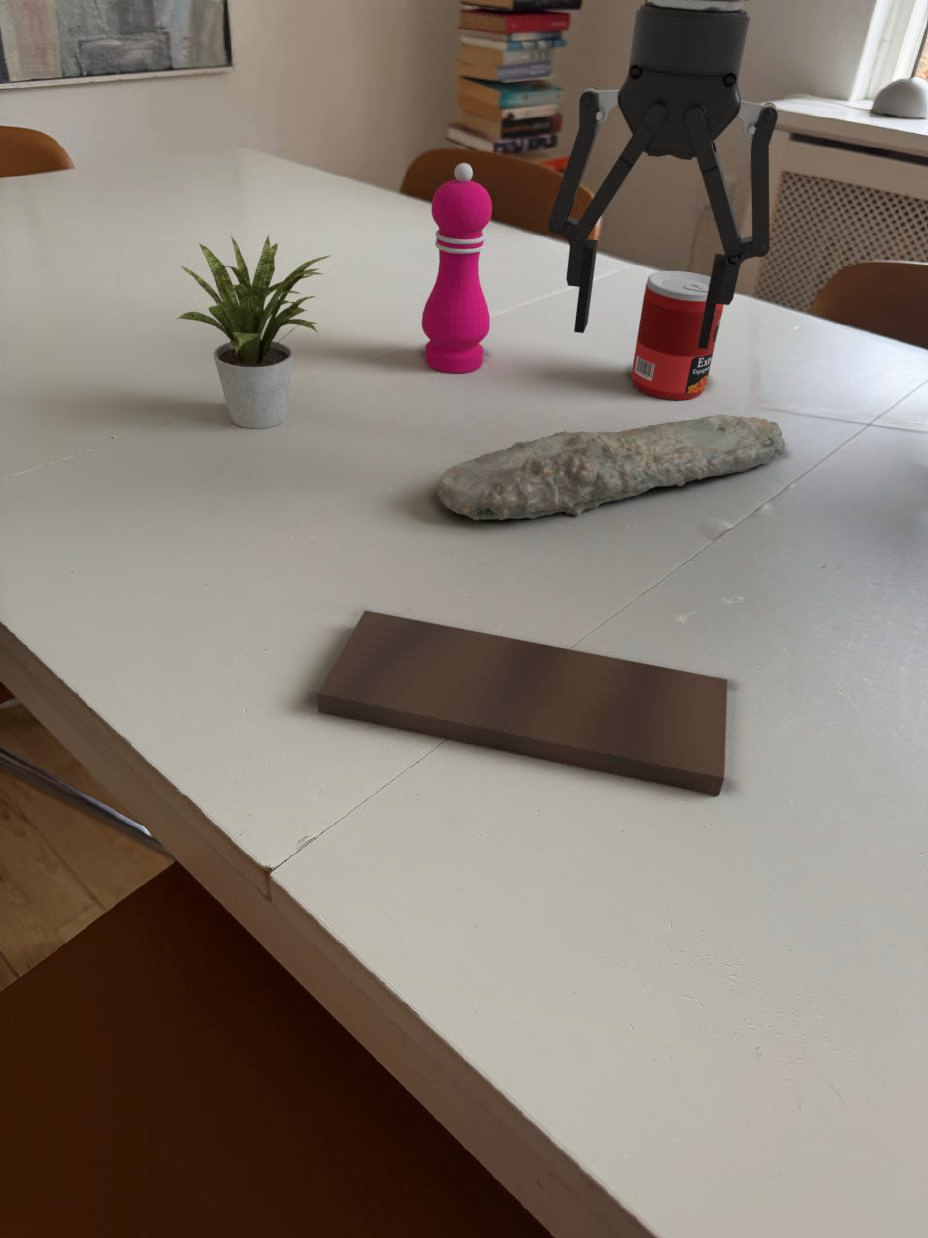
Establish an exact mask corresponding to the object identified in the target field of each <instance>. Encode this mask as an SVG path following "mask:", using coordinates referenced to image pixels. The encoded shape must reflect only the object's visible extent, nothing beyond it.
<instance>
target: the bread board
mask: <svg viewBox="0 0 928 1238" xmlns="http://www.w3.org/2000/svg"><path fill="white" fill-rule="evenodd" d="M316 696H317V698H316V699H317V712H318V713H320V714H321V713H322V714H326V715H331V716H336V717H339V718H344V719H349V720H355V721H359V722H365V723H368V724H374V725H377V726H384V727H388V728H393V729H398V730H402V731H406V732H411V733H416V734H422V735H427V736H431V737H435V738H441V739H444V740H450V741H454V742H460V743H464V744H469V745H472V746H473V745H474V746H478V747H483V748H487V749H492V750H497V751H502V752H507V753H512V754H515V755H521V756H526V757H531V758H535V759H540V760H545V761H550V762H555V763H559V764H564V765H569V766H574V767H579V768H581V769H582V768H583V769H588V770H592V771H597V772H603V773H606V774H611V775H617V776H621V777H625V778H631V779H635V780H639V781H640V780H641V781H643V782H650V783H655V784H659V785H664V786H669V787H673V788H677V789H683V790H688V791H691V792H697V793H702V794H706V795H711V796H717V797H719V796H720V794H721V791H722V788H723V784H724V781H725V777H726V776H725V775H726V772H725V771H726V744H727V742H726V740H727V715H728V714H727V711H728V709H727V707H728V679H727V678H723V677H716V676H711V675H706V674H702V673H695V672H690V671H685V670H680V669H674V668H670V667H666V666H665V667H664V666H660V665H654V664H649V663H643V662H639V661H638V662H637V661H633V660H628V659H623V658H618V657H612V656H607V655H602V654H595V653H591V652H586V651H581V650H575V649H569V648H565V647H559V646H554V645H549V644H544V643H538V642H534V641H528V640H523V639H517V638H512V637H508V636H502V635H498V634H491V633H487V632H481V631H476V630H471V629H465V628H460V627H455V626H449V625H446V624H445V625H444V624H441V623H440V624H439V623H435V622H428V621H423V620H419V619H413V618H409V617H402V616H397V615H393V614H387V613H381V612H378V611H377V612H376V611H372V610H371V611H370V610H367V609H366V610H365V609H364V611H363V612H362V614H361V616H360V617H359V620H358V621H357V623H356V625H355V627H354V628H353V630H352V632H351V634H350V635H349V637H348V639H347V641H346V643H345V644H344V646H343V647H342V650H341V651H340V653H339V655H338V656H337V658H336V660H335V662H334V663H333V665H332V667H331V669H330V671H329V672H328V674H327V676H326V677H325V680H324V681H323V683H322V685H321V687H320V688H319V690H318V692H317V694H316Z"/></svg>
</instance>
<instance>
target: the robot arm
mask: <svg viewBox="0 0 928 1238" xmlns="http://www.w3.org/2000/svg"><path fill="white" fill-rule="evenodd" d="M744 2H750V0H644V3H640V5H639V8H637V9H636V11H635V18H634V25H633V35H632V41H631V49H630V56H629V64H628V70H627V75H626V78H625V80H624V82H623V84H622V85H621V86H620V88H619V89H600V90H599V89H598V88H597V87H595V86H591V87H589V88H587V89H586V90H585V91H583V93H582V94H581V95H580V97H579V101H578V102H579V103H578V106H579V107H578V108H579V109H578V110H579V112H578V115H579V116H578V121H579V122H578V130H577V133H576V137H575V139H574V143H573V146H572V148H571V151H570V154H569V158H568V161H567V163H566V167H565V170H564V173H563V176H562V179H561V182H560V186H559V188H558V191H557V195H556V198H555V200H554V204H553V207H552V210H551V213H550V216H549V220H548V223H547V229H548V231H549V232H550V234H552V235H558V236H560V237H563V239H566V241H567V242H568V245H569V251H568V260H567V269H566V278H565V279H566V284H567V286H568V287H575V288H578V293H577V305H576V311H575V320H574V329H573V332H574V333H576V334H577V333H579V334H584V333H585V330H586V328H587V326H588V323H589V317H590V309H591V308H590V307H591V301H592V300H591V299H592V292H593V285H594V275H595V269H596V262H597V261H596V260H597V253H598V246H599V245H598V244H599V240H598V239H590V238H589V237H590V234H591V233H592V231H593V230H594V228H595V226H596V225H597V223H599V220H601V217H602V216H603V214H604V213H605V211H606V209H607V208H608V207H609V205H610V203H611V201H612V200H613V198H614V197H615V195H616V194H617V192H618V191H619V189H620V188H621V186H622V185H623V183H624V182H625V180H626V178H627V177H628V175H630V172H631V171H632V169H633V168H634V166H635V164H636V163H637V161H638V160H639V159H640V157H641V155H642V154H643V153H645V154H647V157H656V158H661V157H665V156H672V157H674V158H676V159H679V160H685V161H692V159H695V158H696V161H697V164H698V167H699V171H700V173H701V176H702V179H703V183H704V186H705V191H706V193H707V197H708V200H709V204H710V207H711V210H712V214H713V218H714V221H715V224H716V228H717V232H718V235H719V239H720V242H721V245H722V249H723V253H724V254H723V253H715V254H714V258H713V264H712V269H711V273H710V277H711V279H710V284H709V289H708V294H707V299H706V304H705V309H704V314H703V320H702V325H701V330H700V335H699V342H698V348H700V349H708V344H709V339H710V334H711V329H712V324H713V319H714V314H715V309H716V304H723V305H724V306H730V305H731V304H732V302H733V300H734V296H735V292H736V288H737V283H738V277H739V274H740V268H741V265H742V264H743V262H745V261H746V260H748V259H749V260H750V259H752V258H764V257H766V256H767V255H768V254H769V252H770V247H771V246H770V244H771V243H770V143H771V140H772V137H773V134H774V131H775V128H776V125H777V121H778V118H779V114H778V107H777V106H776V104H774V103H773V102H766V103H764V104H762V103H757V102H752V101H748V100H743V99H742V98H741V97H742V96H741V94H740V90H739V78H740V73H741V68H742V67H741V66H742V63H743V56H744V51H745V47H746V43H747V42H746V41H747V37H748V36H747V35H748V30H749V26H750V20H751V17H749V16H748V11H746V10H743V9H744ZM614 108H619V111H620V112H621V114H622V116H623V119H624V121H625V123H626V124H627V127H628V129H629V131H630V133H631V137H630V138H629V140H628V142H627V143H626V145H625V147H624V148H623V149H622V151H621V153H620V154H619V156H618V158H617V159H616V161H615V162H614V164H613V165H612V167H611V169H610V171H609V172H608V174H607V175H606V177H605V178H604V180H603V182H602V183H601V185H600V186H599V188H598V189H597V191H596V193H595V194H594V196H593V197H592V199H591V201H590V202H589V203H588V206H586V208H585V210H584V212H583V214H582V215H581V216H580V218H579V219H577V218H574V217H572V216H571V213H572V210H573V207H574V204H575V201H576V198H577V195H578V193H579V190H580V186H581V183H582V181H583V178H584V175H585V171H586V169H587V165H588V163H589V160H590V157H591V154H592V151H593V149H594V144H595V143H596V139H597V136H598V133H599V130H600V125H603V124H605V123H606V122H608V120H609V119H610V116H611V112H612V110H613V109H614ZM736 118H737V119H739V120H740V121H741V122H742V125H743V126H742V132H743V135H744V136H745V137H746V138H747V139H749V140H750V187H751V188H750V189H751V192H750V193H751V194H750V195H751V235H750V236H746V237H741V233H740V230H739V226H738V223H737V219H736V215H735V211H734V207H733V205H732V204H733V203H732V200H731V197H730V194H729V189H728V186H727V181H726V179H725V176H724V175H725V174H724V172H723V167H722V165H721V159H720V155H719V151H718V147H717V144H716V140H717V139H719V137H720V136H721V135H722V133H723V132H724V131H725V130H726V129H727V128H728V127H729V126H730V125H731V124H732V122H734V121H735V119H736Z"/></svg>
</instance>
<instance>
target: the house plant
mask: <svg viewBox="0 0 928 1238" xmlns="http://www.w3.org/2000/svg"><path fill="white" fill-rule="evenodd" d="M231 241H232V245H233V251H234V255H235V259H236V260H235V261H236V265H237V267H236V266H231V265H224V263H222V261H220V260H219V258H218V257H217V256H215V254H214V253H213V252H212V250H211V249H210V248H209V247H207V246H205V245H204V244H201V242H199V243H198V244H199V247H200V249H201V251H202V254H203V255H204V258H205V259H206V262H207V264H208V267H209V268H210V272H211V273H212V276H213V279H214V282H215V284H216V289H217V292H218V293H217V292H216V291H215V290H214V288H213V287H212V286H211V285H210V284H209V283H208V282H207V281H205V280H204V279H203V278H202V277H201V275H199V274H198V273H196V272H194V271H193V270H191V269H189V268H187V267H185V266H183V265H180V267H181V269H183V270H184V272H186V273H188V274H189V275H190V276H191V277H193V278H194V280H195V281H196V282H197V283H198V285H199V286H200V287H201V288H202V289H203V290H204V291H205V292H206V293H207V294H208V295H209V296H210V298H212V300H213V301H214V303H215V304H216V305H211V306H209V307H208V311H209V313H210V314H211V315H212V316H213V317H214V318H213V317H211V316H209V315H207V314H204V313H202V312H197V311H188V312H185V313H183V314H181V315H180V316H178V317H177V320H179V319H180V320H181V319H182V320H188V321H196V322H201V323H204V324H207V325H211V326H214V327H216V328H217V329H218V330H219V331H221V332H222V333H224V334H225V336H226V337H227V338H228V339H229V342H225V343H223V344H221V345H219V346H218V347H216V348H215V349H214V351H213V353H212V354H213V358H214V362H215V365H216V370H217V373H218V378H219V380H220V385H221V389H222V392H223V396H224V400H225V403H226V404H225V405H226V407H227V410H228V415H229V418H230V420H231V421H232V422H233V423H234V424H235V425H236V426H238V427H241V428H246V429H256V430H257V429H259V430H260V429H267V428H273V427H276V426H278V425H280V424H282V423H283V422H284V421H285V420H286V417H287V408H288V402H289V401H288V399H289V393H290V383H291V376H292V375H291V374H292V367H293V366H292V365H293V358H294V352H293V350H292V349H291V348H290V347H289V346H288V345H286V344H284V343H282V342H281V341H282V340H283V339H285V338H286V336H288V335H289V334H290V333H291V332H292V331H293V330H294V328H292V329H291V330H289V332H288V333H287V334H286V335H284V336H283V337H282V338H281V339H280V340H279V341H275V340H274V339H275V338H276V336H277V334H278V332H279V331H280V329H281V327H284V326H286V325H297V326H295V328H297V327H298V326H302V327H307V328H309V329H312V330H313V331H314V332H316V333H317V334H319V332H318V330H317V329H316V327H315V326H314V325H318V323H317V322H314V321H309V320H305V319H302V318H301V319H300V318H294V317H296V316H298V315H300V314H302V313H304V312H308V310H307V309H304V308H302V307H299V306H300V305H301V304H303V302H305V301H307V300H309V299H312V298H315V297H316V295H310V296H305V297H302V298H299V299H297V300H296V301H289V300H286V298H287V296H288V294H300V295H302V293H301V292H298V291H297V290H292V288H293V287H294V286H295V285H296V284H297V283H298V282H299V281H300V280H302V279H306V278H309V277H311V276H314V275H323V273H321V272H318V270H319V268H309V267H310V266H312V265H313V264H316V263H317V262H320V261H323V260H325V259H327V258H329V257H332V255H325V256H321V257H317V258H314V259H311V260H309V261H306V262H304V263H303V264H301V265H299V266H297V268H295V269H294V270H293V271H291V272H290V273H289V275H287V276H286V278H284V280H282V281H280V282H277V283H275V284H273V285H271V282H272V280H273V279H272V278H273V276H274V273H275V270H276V263H275V256H276V254H277V252H278V248H279V247H278V245H279V244H280V242H277V243H275V244H273V245H272V246H271V241H270V234H268V235H267V236H266V240H265V241H264V244H263V247H262V251H261V254H260V257H259V260H258V263H257V266H256V268H255V270H254V271H255V272H254V275H253V279H252V283H251V278H250V273H249V269H248V266H247V264H246V261H245V259H244V257H243V255H242V252H241V250H240V247H239V245H238V243H237V241H236V240H235V238H233V235H232V234H231ZM227 268H230V269H231V271H232V272H233V273H234V275H235V277H236V279H237V282H238V284H233V282H232V278H231V277H230V274H229V272H228V270H227ZM308 268H309V269H308ZM316 271H317V272H316ZM270 285H271V286H270ZM273 292H274V293H273ZM272 293H273V294H272ZM270 294H272V297H271V298H270V300H269V301H268V303H267V304H266V299H267V297H268V296H269V295H270ZM289 303H290V304H291V305H289V306H288V307H286V308H284V309H282V311H280V308H281V307H282V305H287V304H289ZM265 304H266V306H265ZM279 311H280V312H279ZM266 324H267V325H266Z"/></svg>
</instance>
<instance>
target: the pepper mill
mask: <svg viewBox="0 0 928 1238" xmlns="http://www.w3.org/2000/svg"><path fill="white" fill-rule="evenodd" d="M473 173H474V172H473V168H472V166H471V165H470V164H469V163H467V162H461V163H459V164H457V165H456V166H455V168H454V177H455V179H452V180H449V181H446V182H444V183H443V184H441V185H440V186H439V187H438V188H437V189H436V191H435V192H434V194H433V197H432V201H431V216H432V219H433V221H434V223H435V224H436V225H437V227H438V229H437V230H436V232H435V237H436V238H435V239H436V240H435V242H434V245H435V247H436V248H437V249H438V257H439V258H438V259H439V261H438V269H437V275H436V280H435V282H434V285H433V288H432V290H431V292H430V293H429V295H428V297H427V300H426V302H425V305H424V307H423V311H422V314H421V315H422V316H421V329H422V331H423V333H424V335H425V336H426V338H428V340H429V341H428V342H427V343H426V344H425V348H424V349H425V350H424V361H425V364H426V365H427V366H428V367H430V368H431V369H433V370H435V371H438V372H442V373H449V374H466V373H471V372H474V371H476V370H479V369H480V368H481V367H482V366H483V361H484V347H483V345H481V342H482V341H483V340H484V339H485V338H486V337H487V336H488V334H489V333H490V328H491V327H490V326H491V325H490V324H491V322H490V312H489V307H488V303H487V301H486V297H485V294H484V292H483V288H482V285H481V281H480V273H479V270H480V269H479V263H480V262H479V261H480V255H481V252H483V250H484V249H485V247H486V245H485V239H486V234H485V233H483V230H484V229H485V228H486V227H487V225H488V224H489V223H490V222H491V219H492V213H493V212H492V211H493V205H492V199H491V196H490V194H489V192H488V191H487V189H486V188H485V187H484V186H483V185H481V184H480V183H478V182H476V181H473V180H472V178H473V176H474V175H473Z"/></svg>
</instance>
